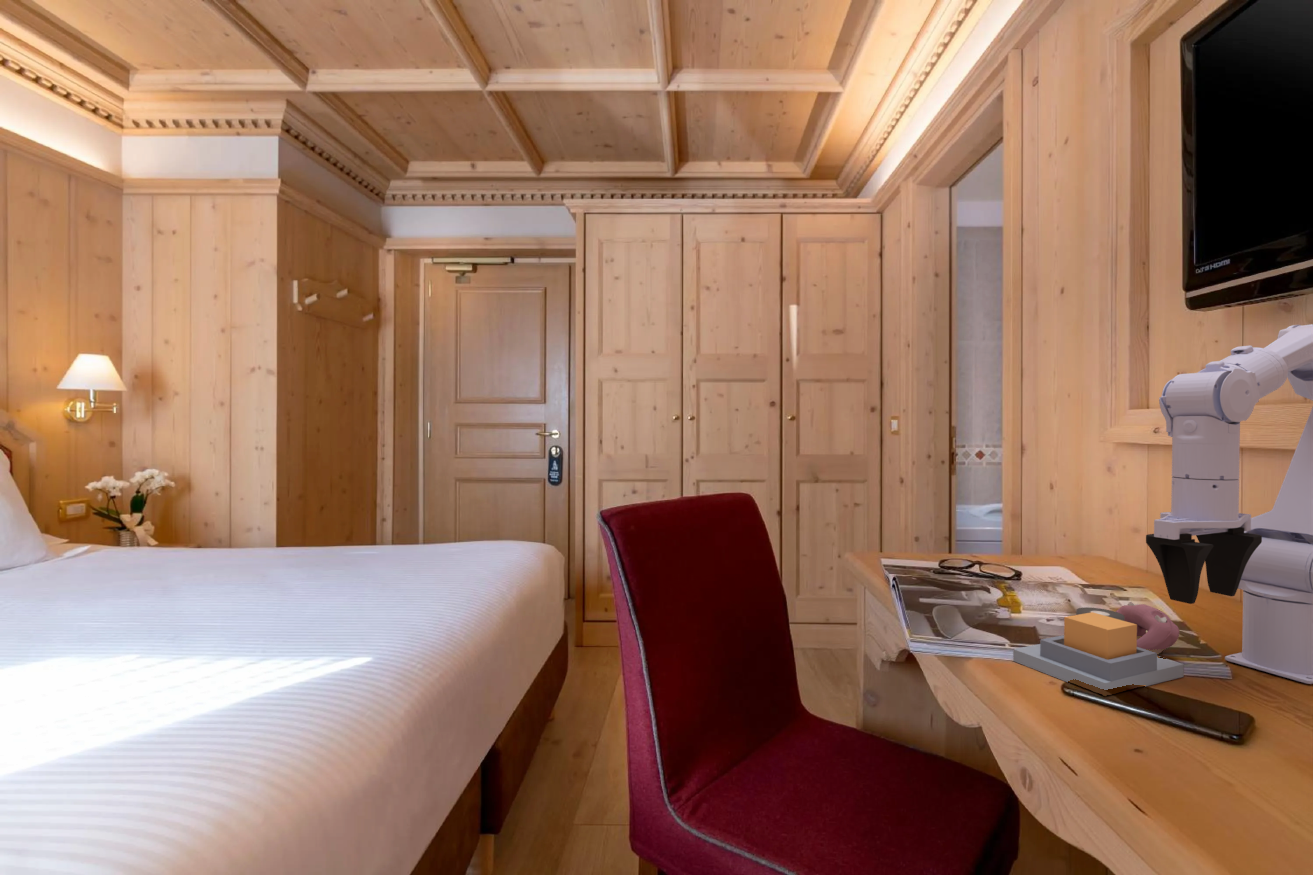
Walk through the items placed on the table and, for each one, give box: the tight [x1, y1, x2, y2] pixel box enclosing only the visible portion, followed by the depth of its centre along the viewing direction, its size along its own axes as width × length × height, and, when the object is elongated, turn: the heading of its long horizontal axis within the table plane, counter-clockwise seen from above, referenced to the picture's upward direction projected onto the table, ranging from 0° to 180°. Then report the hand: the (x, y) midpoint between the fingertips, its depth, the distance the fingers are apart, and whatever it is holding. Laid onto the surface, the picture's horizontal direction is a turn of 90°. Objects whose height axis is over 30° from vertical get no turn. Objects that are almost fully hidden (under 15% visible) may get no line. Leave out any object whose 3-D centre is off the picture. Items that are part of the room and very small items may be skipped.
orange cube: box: [1063, 612, 1137, 660], centre depth 73 cm, size 5×5×5 cm
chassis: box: [1012, 634, 1185, 690], centre depth 75 cm, size 14×11×4 cm
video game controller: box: [1115, 601, 1180, 650], centre depth 82 cm, size 10×5×7 cm, turn 169°
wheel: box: [1075, 606, 1125, 621], centre depth 79 cm, size 5×5×4 cm
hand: (1202, 597), depth 70 cm, fingers open, 7 cm apart
